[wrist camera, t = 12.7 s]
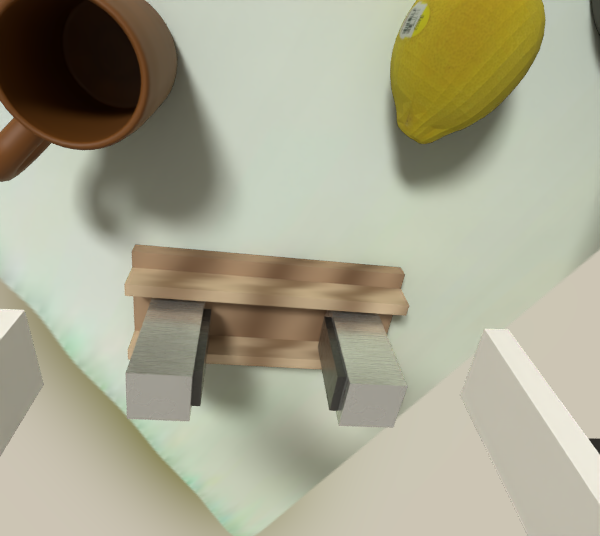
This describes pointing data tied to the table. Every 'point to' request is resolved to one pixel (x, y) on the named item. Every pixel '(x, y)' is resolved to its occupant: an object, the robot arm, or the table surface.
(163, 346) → the block
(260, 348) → the rail
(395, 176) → the table surface
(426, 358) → the table surface
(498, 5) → the lemon
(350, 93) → the table surface
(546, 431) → the robot arm
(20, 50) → the mug
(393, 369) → the finger
